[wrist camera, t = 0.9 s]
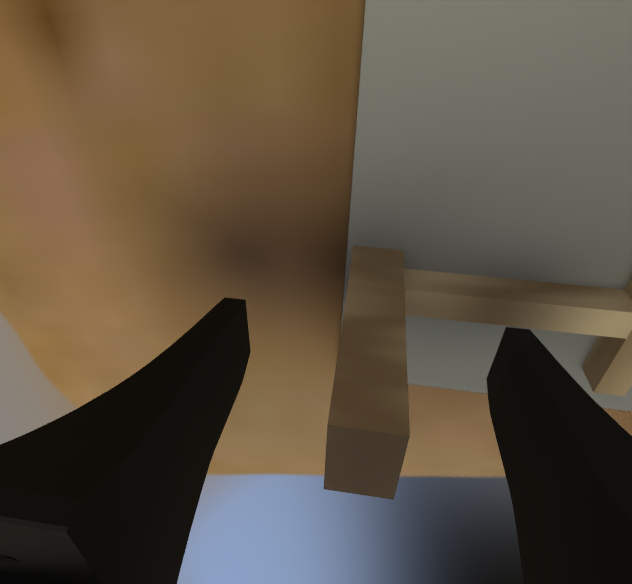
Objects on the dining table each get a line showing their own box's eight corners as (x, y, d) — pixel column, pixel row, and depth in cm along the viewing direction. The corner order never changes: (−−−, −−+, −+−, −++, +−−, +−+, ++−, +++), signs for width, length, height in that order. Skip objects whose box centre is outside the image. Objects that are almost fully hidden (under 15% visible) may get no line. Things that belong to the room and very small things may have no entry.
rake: (702, 220, 12) (964, 435, 7) (610, 370, 16) (729, 590, 10) (357, 193, 13) (331, 360, 8) (345, 340, 17) (321, 526, 11)
